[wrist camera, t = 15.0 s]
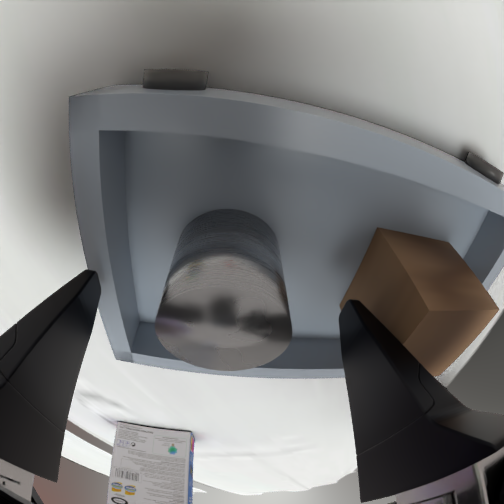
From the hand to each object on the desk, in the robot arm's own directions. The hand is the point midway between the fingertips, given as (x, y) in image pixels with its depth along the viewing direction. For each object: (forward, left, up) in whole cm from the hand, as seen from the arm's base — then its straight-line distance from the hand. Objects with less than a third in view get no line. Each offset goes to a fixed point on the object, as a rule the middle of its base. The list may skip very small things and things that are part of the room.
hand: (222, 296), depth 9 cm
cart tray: (-4, 0, -4) cm, 5 cm away
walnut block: (-8, 0, -2) cm, 8 cm away
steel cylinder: (0, 0, -2) cm, 2 cm away
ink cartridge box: (+6, +31, -4) cm, 32 cm away
